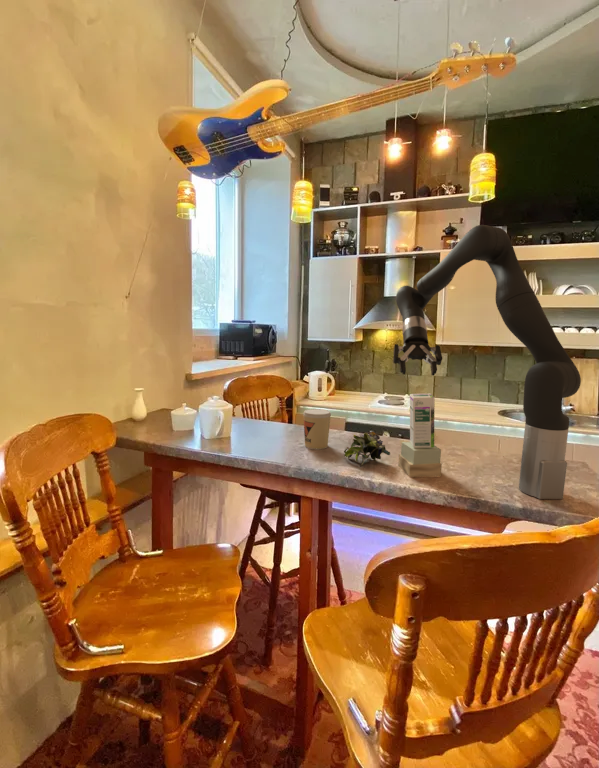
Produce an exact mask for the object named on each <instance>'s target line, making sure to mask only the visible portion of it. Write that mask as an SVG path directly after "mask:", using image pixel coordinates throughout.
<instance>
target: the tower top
mask: <svg viewBox="0 0 599 768" xmlns="http://www.w3.org/2000/svg"><path fill="white" fill-rule="evenodd" d="M400 446H401V447H400V454H401V456H402V457H404V458H405V459H406V460H408V461H409V462H410V463H412V464H413V465H416V464H435V463H441V456H442V455H441V454H442V449H441V448H440V447H437V446H436V445H434V448H413V446H412V444H411V442H410V441H401V445H400Z"/></svg>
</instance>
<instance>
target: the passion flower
mask: <svg viewBox="0 0 599 768" xmlns="http://www.w3.org/2000/svg"><path fill="white" fill-rule="evenodd" d="M352 441H353V442H352V443H351V445H350V447H349V446H346V447H345V449H344V450H343V453H344V455H343V456H344V457H346V458H347V459H348V460H349V459H351V458H352V456H353V455H355V457H354V458H355V459H354V460H355V462H358V460H359V456H360V455H361V461H362V463H361V465H360V467H362V466H363V465H364V463H365V462H366V460H367V459H369V458H370V459H372V460H373V461H374V460H376V459H377V460H381V459H382V457H381V455H382V454H385V455H386V456H390V455H391V452H390V451H388V450H387V449H386V445H385V444H383V443H384V441H383V440H381V437H380V436H379V434H378V433H375V432H374V431H372V432H369V431H368V432H364V433H363V434H360V435H356V434H353V438H352ZM368 453H369V454H368Z"/></svg>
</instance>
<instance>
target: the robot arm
mask: <svg viewBox="0 0 599 768" xmlns="http://www.w3.org/2000/svg"><path fill="white" fill-rule="evenodd" d="M473 261H483V262H486V263H487V264H488V266H489V268H490V270H491V272H492V274H493V275H494V278H495V281H496V288H495V305H496V307H497V310H498V312H499V315H500V316H501V318H502V322H503V323H504V325H505V326H506V328H507V329H508V330H509V332H510V333H511V334H513V336H515V337H516V339H517V340H519V341H520V342H521V343H522V344H523V345H524V346H525V348H527V350H528V351H529V352H530V353H531V355H532V357H533V359H534V361H535V364H533V365H531V367H529V369H528V371H527V373H526V374H525V379H524V386H523V403H522V404H523V405H522V408H523V414H524V417H525V422H524V423H525V425H524V433H523V443H522V451H521V459H520V460H521V461H520V469H519V470H520V471H519V481H518V489H519V490H520V491H521V492H522V493H524V494H526V495H529V496H532V497H535V498H536V499H538V500H563V499H564V494H565V485H566V476H567V468H568V467H567V466H568V462H567V460H566V453H567V445H568V439H569V438H568V436H569V435H568V434H569V428H570V417H569V416H567V415H566V414H565V413H564V412H563V399H565V398H569V397H571V396H574V395H576V393H577V392H578V391H579V390H580V387H581V382H582V379H581V375H580V371H579V370H578V367H577V366H576V364H575V363H574V362H573V360H572V358H571V357H570V355H569V354H568V352H567V351H566V349H565V348H564V346H563V345H562V344H561V342H560V340H559V339H558V337H557V335H556V334H555V331H554V329H553V327H552V325H551V323H550V320H549V319H548V318H547V316H546V313H545V312H544V309H543V308H542V304H541V303H540V301H539V299H538V297H537V295H536V292H534V289H533V287H532V286H531V284H530V282H529V280H528V277H526V274H525V272H524V271H523V269H522V267H521V265H520V263H519V260H518V258H517V254H516V252H515V249H514V247H513V242H512V241H511V238H510V236H509V234H508V232H507V231H506V230H505V229H503V228H501V227H499V226H498V227H497V226H493V225H486V224H480V225H479V224H478V225H475V226H474V227H472V228H471V229H470V230H469V231H467V233H465V235H463V237H462V238H461V239H460V240H459V241H458V242H457V243H456V244H455V246H453V248H452V249H451V250H450V251H448V253H447V255H445V257H444V258H443V259H442V260H441V261H440V262H439V263H437V265H436V266H434V267H433V268H432V269H430V270H429V271H427V273H426V274H425V275H424V276H422V277H421V278H420V279H419V280H418V281H417V283H416V288H414V287H412V286H410V285H403V286H402V287H400V288H399V289H398V291H397V293H396V296H395V303H396V306H397V308H398V310H399V313H400V315H401V317H402V319H401V320H402V332H401V333H402V340H403V341H402V342H403V345H402V346H400V345H399V344H398V343H395V344H394V346H393V359H392V361H393V364H394V365H395V364H398V365H399V372H400V373H401V374H402V375H406V368H407V367H406V363H407V362H408V361H409V360H411V361H414V360H419V361H421V360H423V361H424V362H425V363H427V364H428V365H430V371H431V372H430V374H431V376H435V375H436V374H437V372H438V366H441V364H442V361H443V355H442V350H441V347H440V345H438V344H437V345H435V346H430V344H429V337H428V327H427V325H426V320H425V313H424V309H425V308H426V306H427V305H428V303H430V301H431V299H433V297H434V296H435V295H437V294H438V293H439V292H441V291H442V290H443V289H445V288H446V287H448V285H450V283H451V282H452V281H453V279H454V277H455V275H456V273H457V271H459V269H460V268H462V267H463V266H464V265H467V264H468V263H470V262H473ZM401 352H402V353H403V355H402V356H401V357H399V354H400V353H401ZM433 355H434V356H433ZM437 365H438V366H437Z"/></svg>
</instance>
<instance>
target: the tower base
mask: <svg viewBox="0 0 599 768" xmlns="http://www.w3.org/2000/svg"><path fill="white" fill-rule="evenodd" d="M398 467H399V468H400V470H402V471H403V473H404V474H405V475H406V476H408V478H437V477H438V478H439V477H442V463H441V462H440V463H435V464H416V465H413V464H412V463H410V462H409V461H408V460H406V459H405V458H404V457H402V456H401V453H399V454H398Z"/></svg>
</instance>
